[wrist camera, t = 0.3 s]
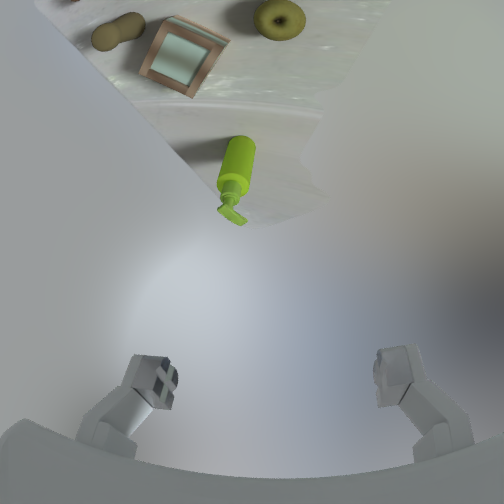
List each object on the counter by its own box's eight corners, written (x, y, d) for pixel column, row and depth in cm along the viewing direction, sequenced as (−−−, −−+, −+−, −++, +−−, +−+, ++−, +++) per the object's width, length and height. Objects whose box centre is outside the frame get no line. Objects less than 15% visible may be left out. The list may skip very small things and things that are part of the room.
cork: (114, 37, 40) (83, 54, 33) (120, 10, 35) (88, 21, 29) (141, 42, 41) (113, 58, 35) (149, 14, 37) (120, 25, 30)
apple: (253, -1, 35) (248, 1, 30) (302, -3, 33) (305, -2, 29) (259, 37, 41) (255, 45, 36) (305, 35, 39) (308, 43, 35)
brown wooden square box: (177, 14, 37) (163, 20, 33) (231, 40, 41) (223, 47, 37) (152, 62, 45) (138, 73, 41) (201, 85, 49) (192, 98, 45)
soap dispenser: (245, 165, 64) (232, 233, 52) (222, 146, 60) (201, 211, 48) (264, 151, 60) (256, 218, 48) (241, 130, 57) (224, 194, 45)
